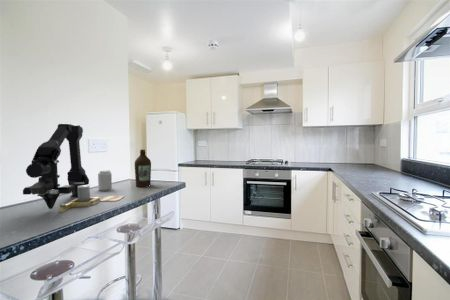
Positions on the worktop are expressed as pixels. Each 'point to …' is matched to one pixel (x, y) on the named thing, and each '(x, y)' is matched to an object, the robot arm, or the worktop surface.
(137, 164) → the olive oil
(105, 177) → the can
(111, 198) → the wooden panel
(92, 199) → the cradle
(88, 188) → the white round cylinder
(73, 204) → the yellow l-shaped bracket
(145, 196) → the worktop surface
